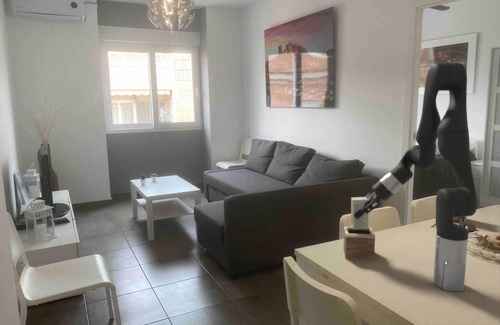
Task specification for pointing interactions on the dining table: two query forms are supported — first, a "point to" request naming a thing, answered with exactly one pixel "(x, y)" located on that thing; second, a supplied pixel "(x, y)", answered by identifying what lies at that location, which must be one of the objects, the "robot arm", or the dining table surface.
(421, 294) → the dining table surface
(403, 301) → the dining table surface
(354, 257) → the slot box
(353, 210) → the skincare box
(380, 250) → the dining table surface
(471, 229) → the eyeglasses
